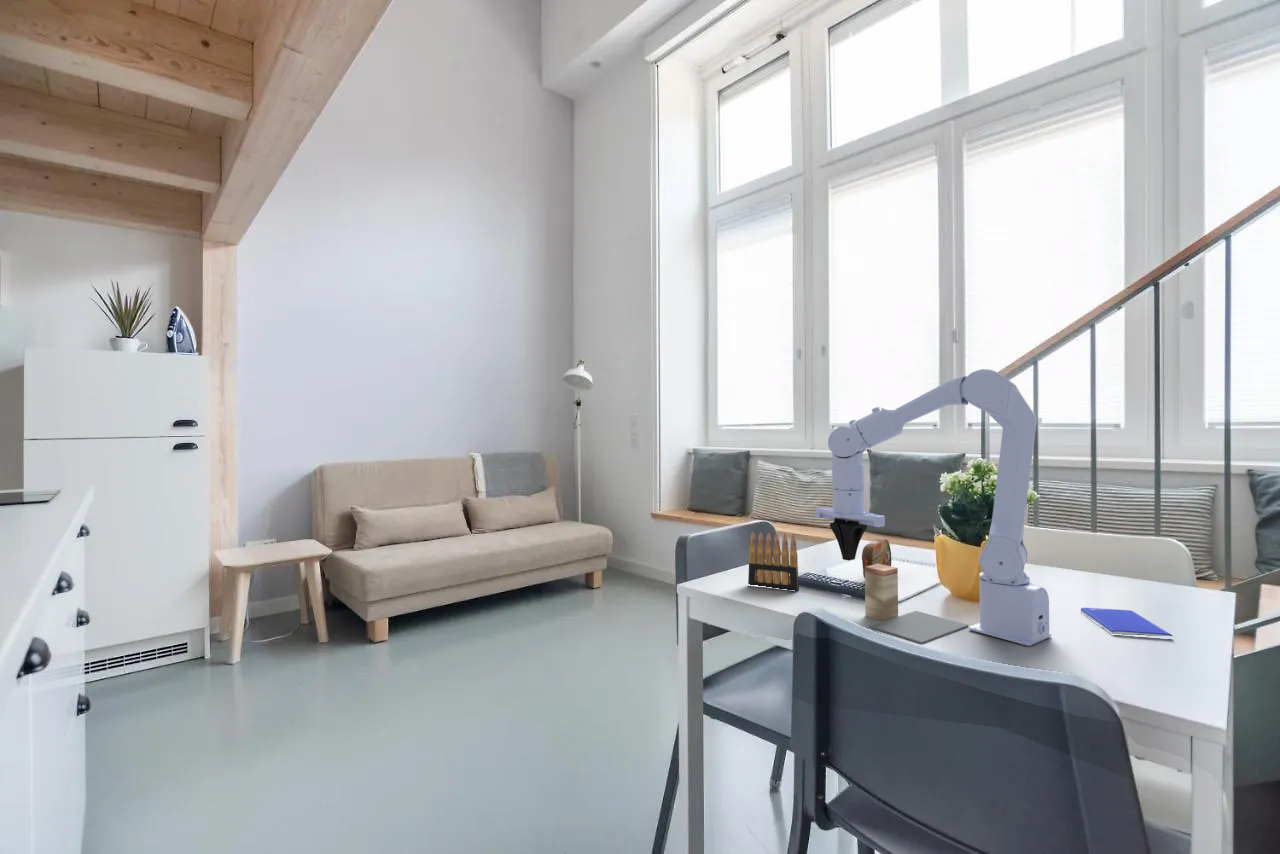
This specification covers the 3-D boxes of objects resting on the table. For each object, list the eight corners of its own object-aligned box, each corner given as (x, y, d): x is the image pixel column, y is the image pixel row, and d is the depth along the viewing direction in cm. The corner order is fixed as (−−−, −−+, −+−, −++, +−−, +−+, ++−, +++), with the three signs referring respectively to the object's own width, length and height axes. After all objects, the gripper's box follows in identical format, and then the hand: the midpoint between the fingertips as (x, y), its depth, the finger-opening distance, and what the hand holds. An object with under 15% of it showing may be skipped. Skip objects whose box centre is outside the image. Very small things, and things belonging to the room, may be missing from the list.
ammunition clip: (748, 586, 130) (747, 531, 130) (750, 584, 132) (749, 530, 132) (797, 591, 125) (797, 535, 125) (799, 589, 127) (798, 533, 127)
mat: (968, 626, 103) (968, 624, 103) (921, 643, 95) (921, 642, 95) (916, 612, 111) (916, 610, 111) (869, 627, 103) (869, 625, 103)
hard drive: (1080, 607, 109) (1112, 629, 98) (1133, 610, 107) (1172, 633, 95) (1080, 615, 109) (1112, 639, 98) (1133, 618, 107) (1172, 643, 95)
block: (898, 617, 108) (897, 567, 108) (884, 621, 106) (884, 571, 106) (878, 611, 112) (878, 563, 112) (865, 615, 109) (864, 566, 109)
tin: (874, 586, 129) (874, 547, 129) (859, 584, 131) (859, 546, 131) (892, 572, 141) (892, 536, 141) (879, 570, 143) (878, 535, 143)
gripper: (804, 487, 118) (805, 555, 119) (867, 493, 106) (868, 569, 106) (827, 485, 122) (828, 550, 122) (891, 491, 110) (892, 564, 110)
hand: (848, 559), depth 115 cm, fingers closed
